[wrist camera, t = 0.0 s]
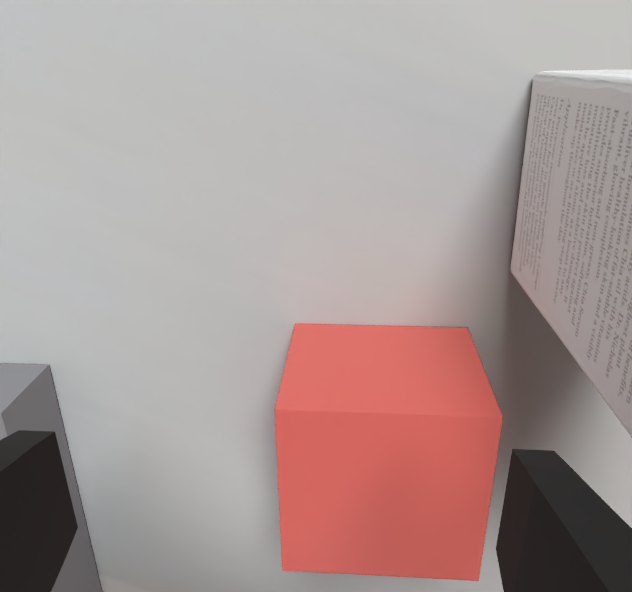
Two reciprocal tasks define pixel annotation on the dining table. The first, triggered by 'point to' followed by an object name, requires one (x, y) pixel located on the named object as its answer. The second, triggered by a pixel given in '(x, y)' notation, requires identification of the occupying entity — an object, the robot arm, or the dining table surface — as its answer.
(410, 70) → the dining table surface
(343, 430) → the cap
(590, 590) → the robot arm
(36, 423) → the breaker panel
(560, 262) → the skincare box
